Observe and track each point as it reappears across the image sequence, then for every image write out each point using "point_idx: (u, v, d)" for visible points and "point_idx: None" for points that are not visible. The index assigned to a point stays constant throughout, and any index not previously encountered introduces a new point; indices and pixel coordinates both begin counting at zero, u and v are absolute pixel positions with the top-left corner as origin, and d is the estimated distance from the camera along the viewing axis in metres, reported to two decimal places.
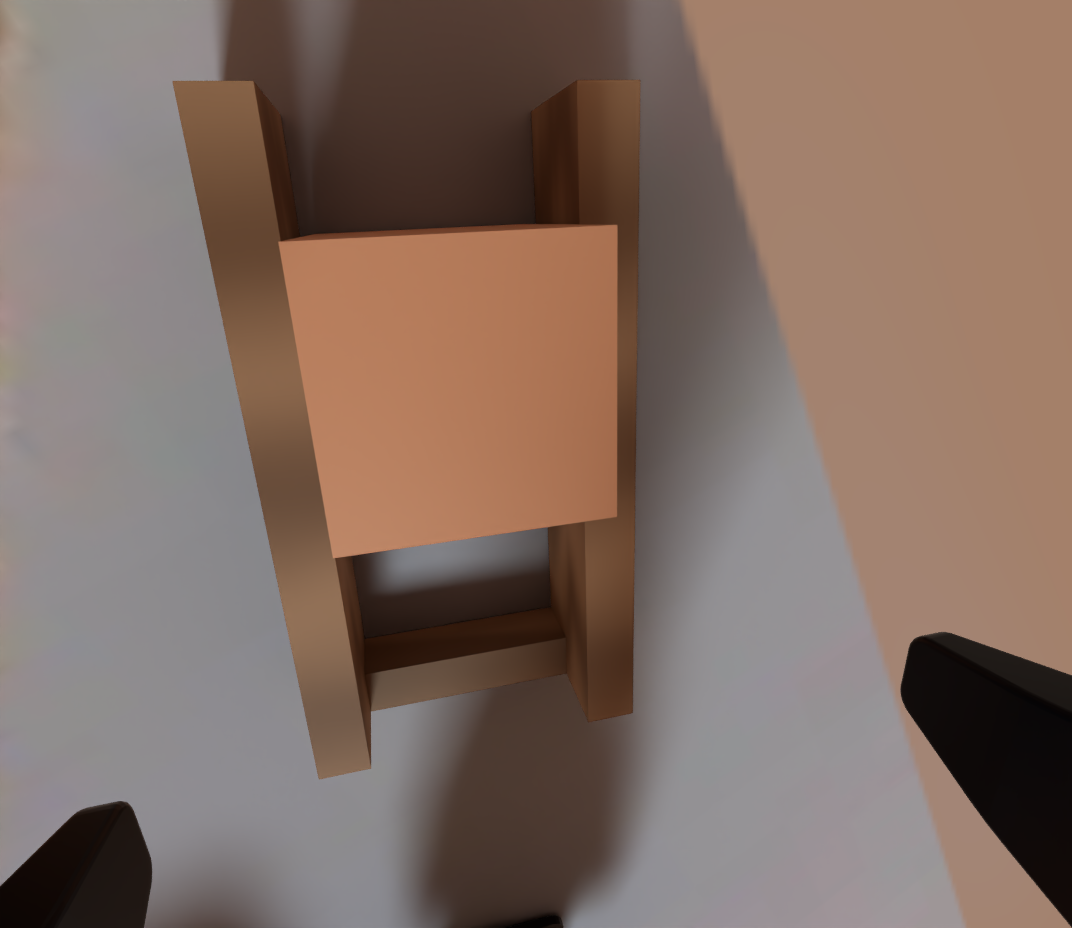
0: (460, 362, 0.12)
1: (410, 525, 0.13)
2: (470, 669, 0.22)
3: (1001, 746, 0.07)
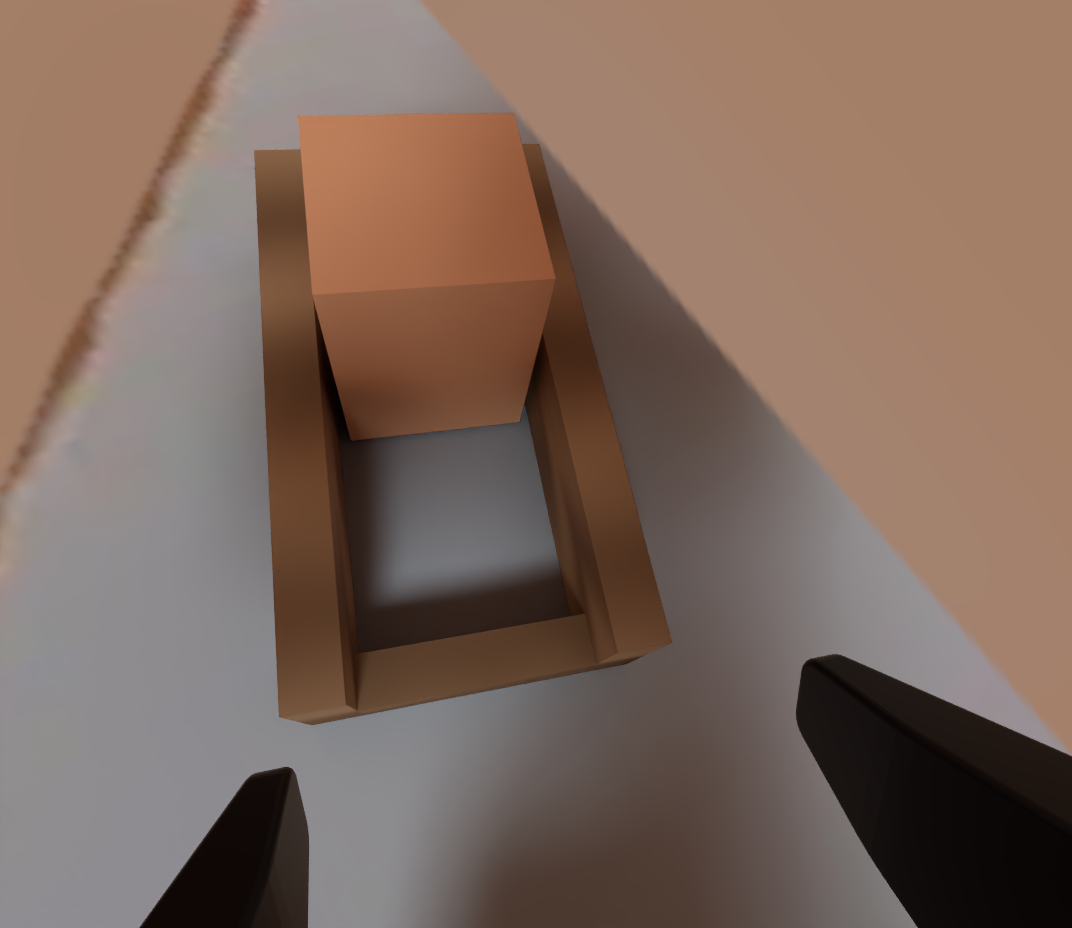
0: (414, 175, 0.18)
1: (378, 274, 0.16)
2: (476, 653, 0.19)
3: (879, 777, 0.07)
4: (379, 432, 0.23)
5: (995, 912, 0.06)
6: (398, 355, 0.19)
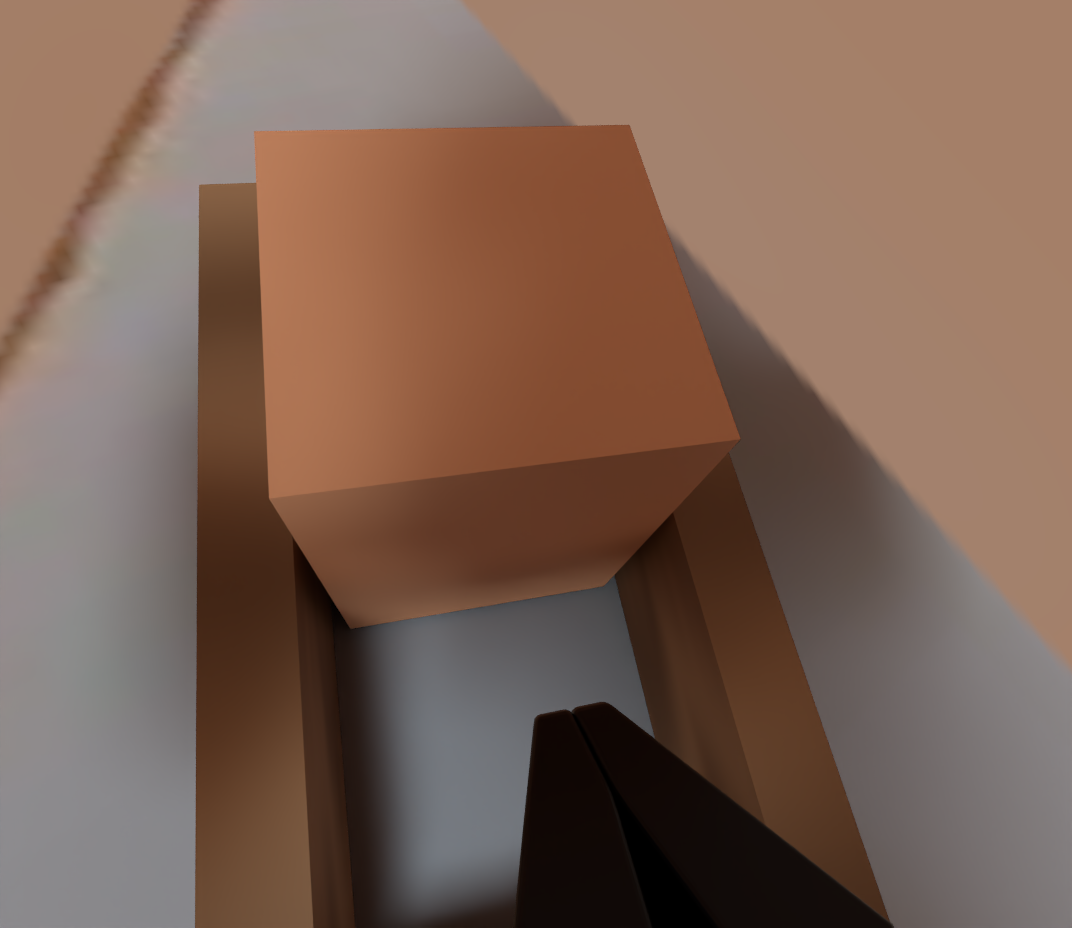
0: (466, 239, 0.10)
1: (403, 445, 0.08)
2: None
3: None
4: (394, 617, 0.15)
5: None
6: (432, 549, 0.11)
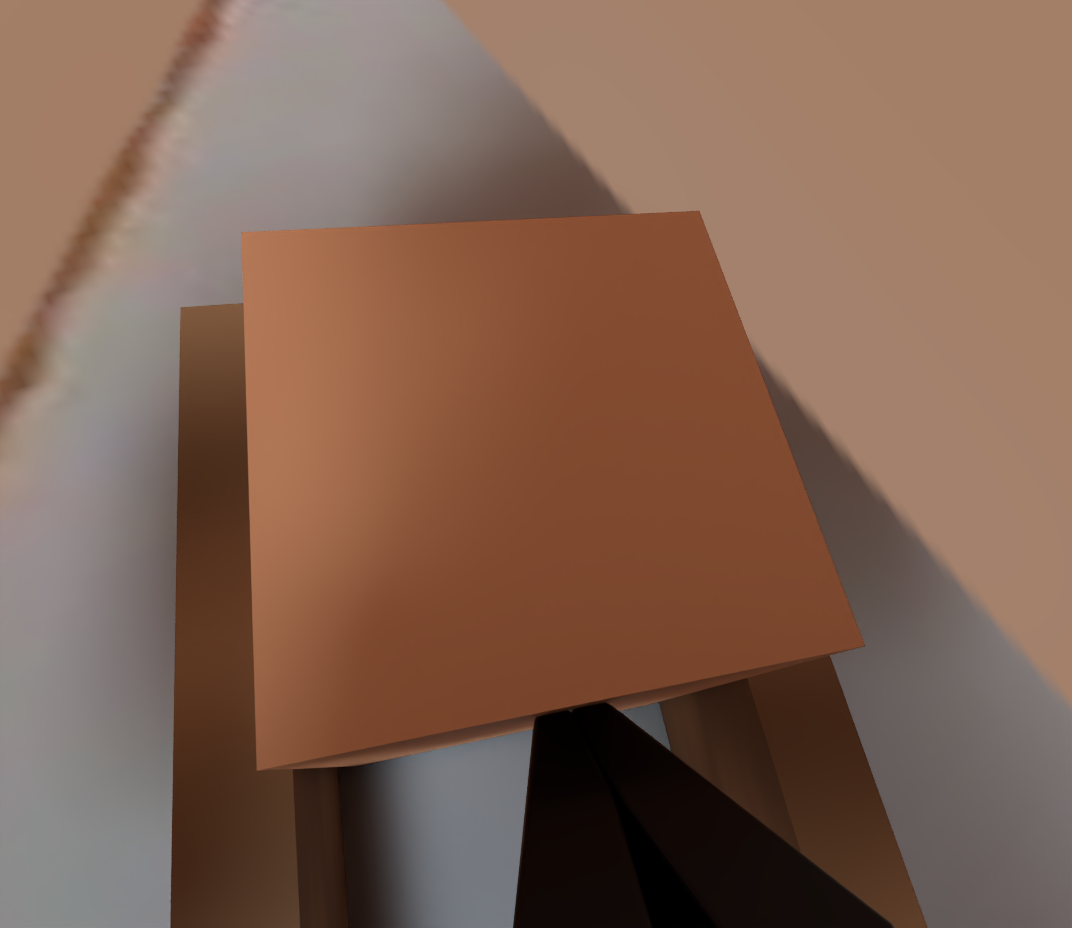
0: (508, 372, 0.08)
1: (434, 678, 0.06)
2: None
3: None
4: None
5: None
6: (460, 738, 0.09)
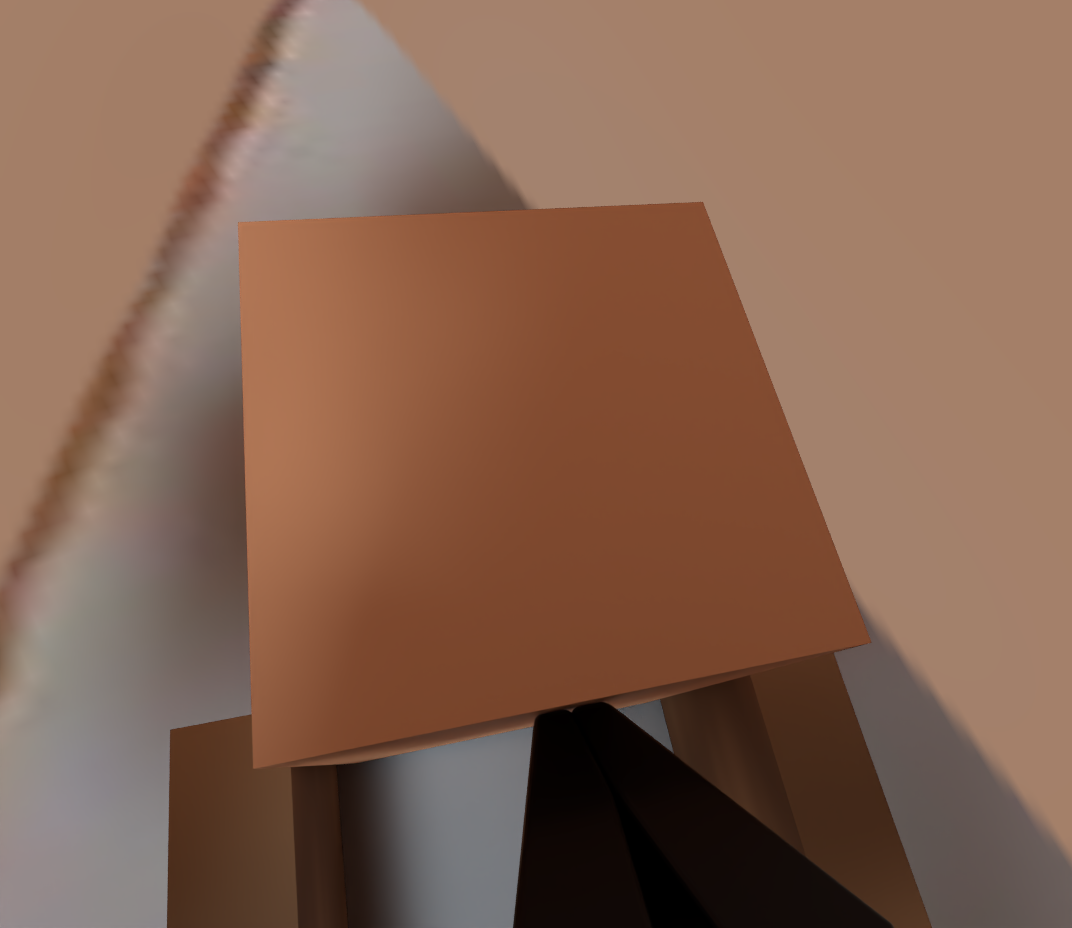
0: (509, 364, 0.07)
1: (434, 674, 0.06)
2: None
3: None
4: (407, 751, 0.13)
5: None
6: (461, 735, 0.09)
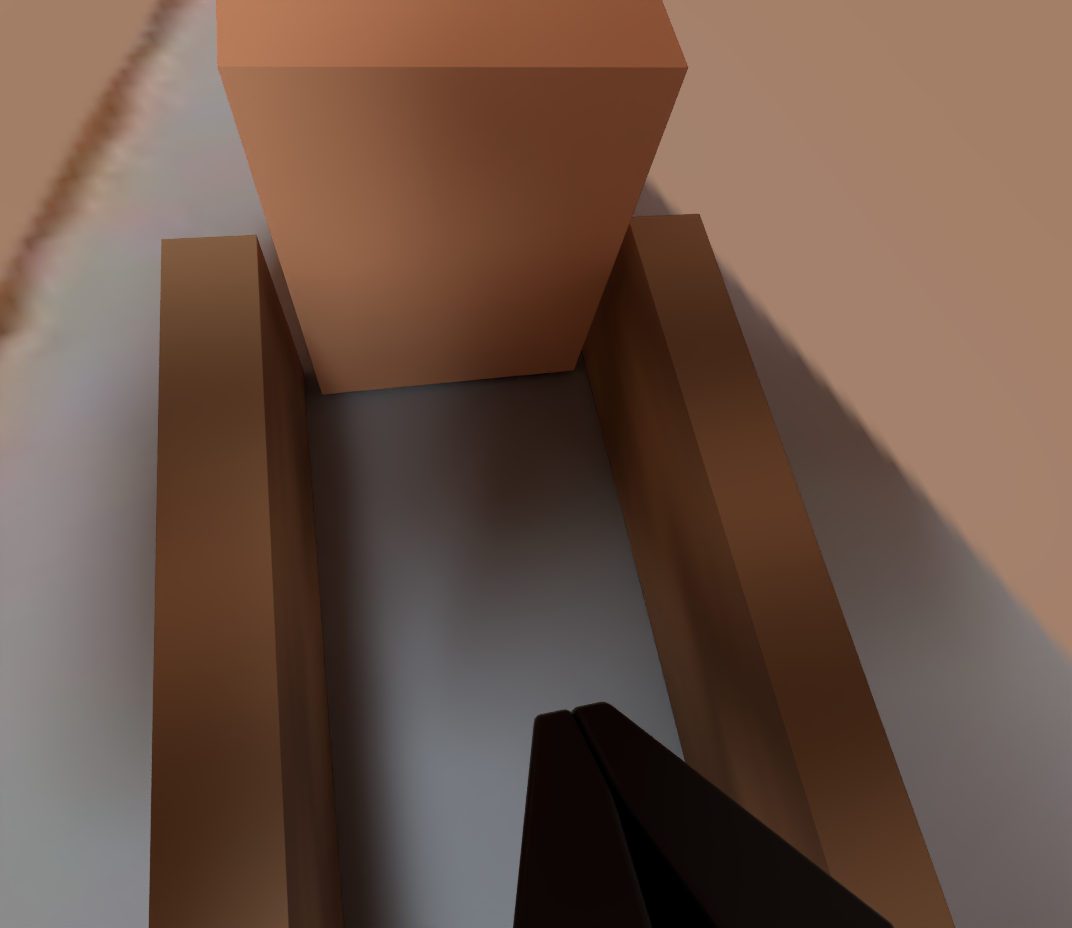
0: None
1: (352, 40, 0.08)
2: None
3: None
4: (365, 380, 0.15)
5: None
6: (391, 232, 0.11)
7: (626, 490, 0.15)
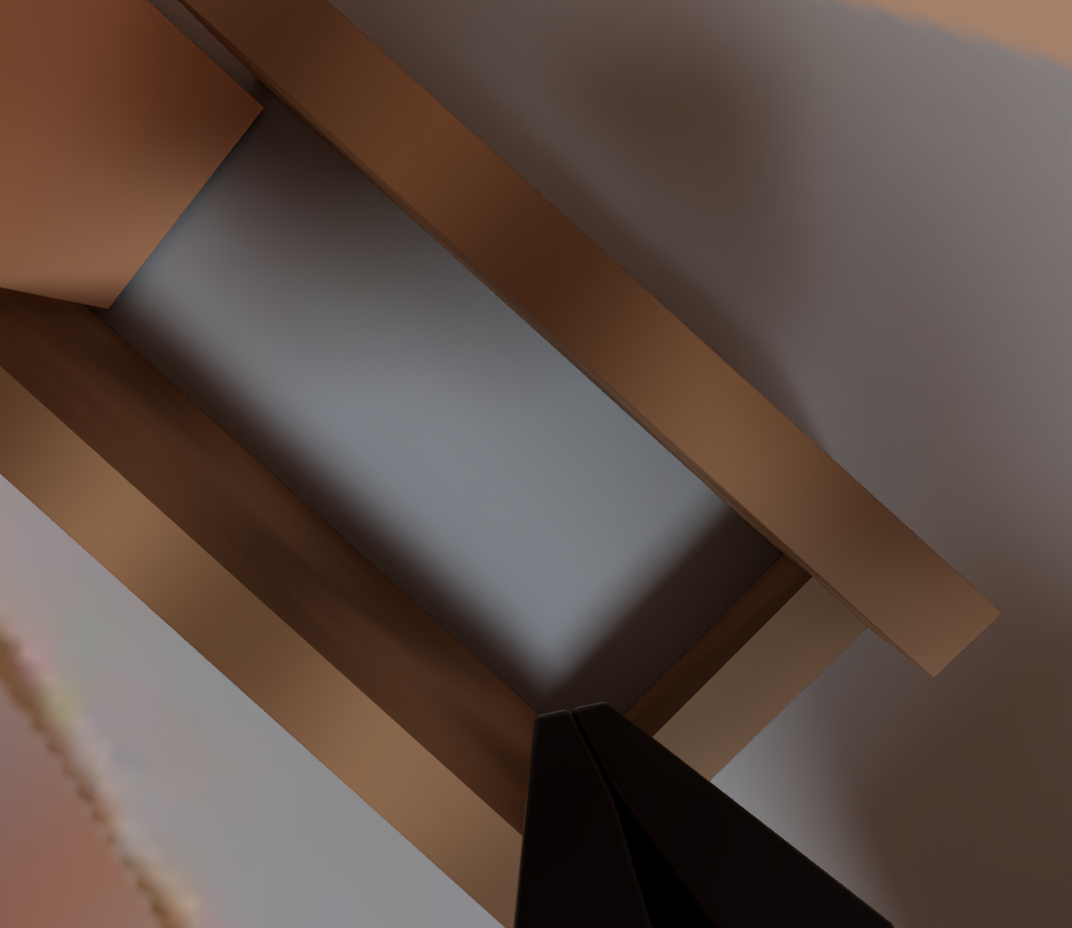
0: None
1: None
2: (716, 711, 0.14)
3: None
4: (120, 272, 0.15)
5: None
6: None
7: (380, 189, 0.14)
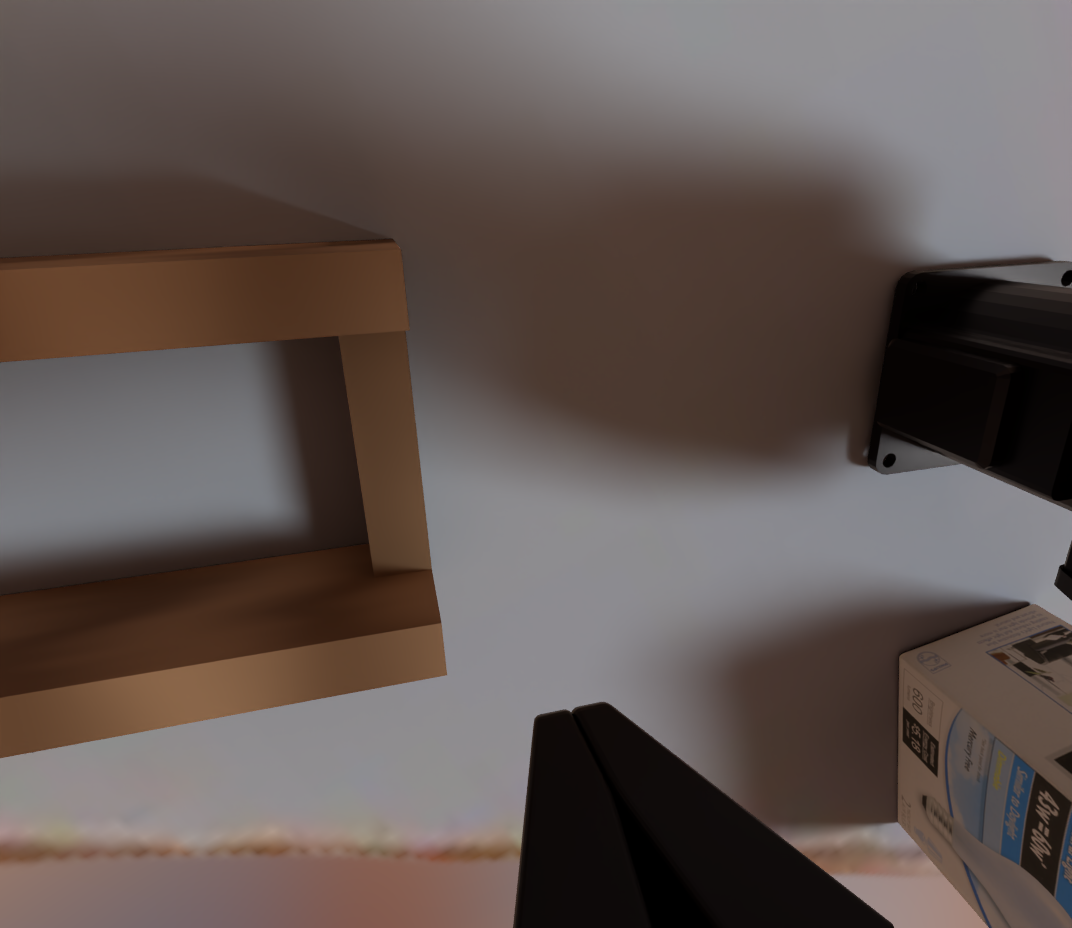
0: None
1: None
2: (380, 453, 0.16)
3: None
4: None
5: None
6: None
7: None
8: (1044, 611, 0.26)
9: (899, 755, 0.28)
